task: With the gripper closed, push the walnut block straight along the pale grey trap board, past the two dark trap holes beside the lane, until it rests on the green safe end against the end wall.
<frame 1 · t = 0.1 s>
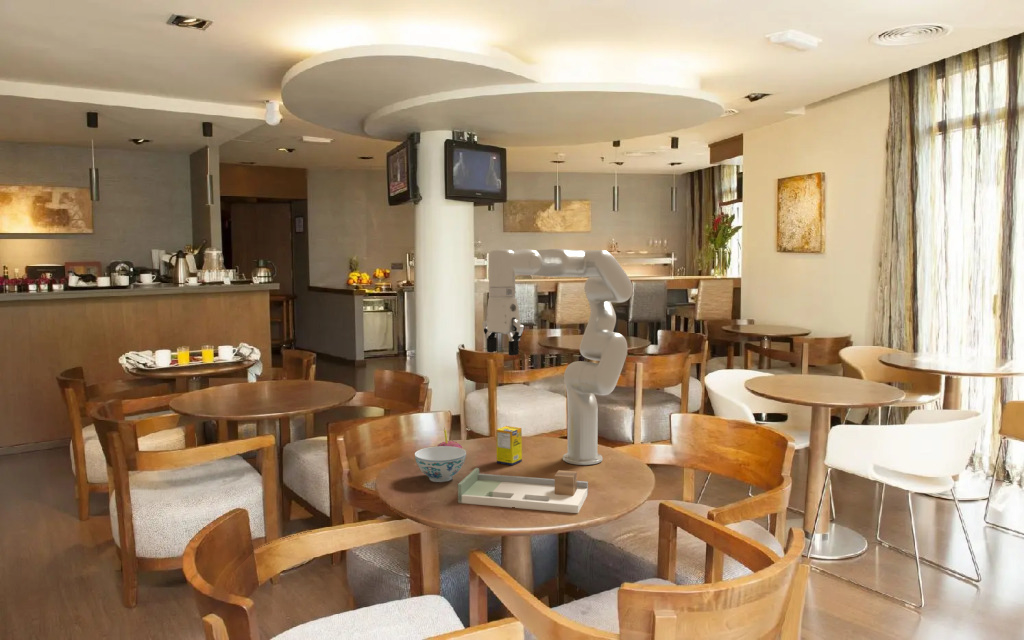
hand: (502, 353, 200), 37 cm above the table, tool pointing down, fingers open, 9 cm apart
walnut block: (565, 492, 187), point 2 cm above the table, touching trap board
trap board: (524, 498, 188), on the table
cupcake: (449, 464, 221), on the table
chinaware: (440, 479, 206), on the table
supplement box: (509, 463, 222), on the table
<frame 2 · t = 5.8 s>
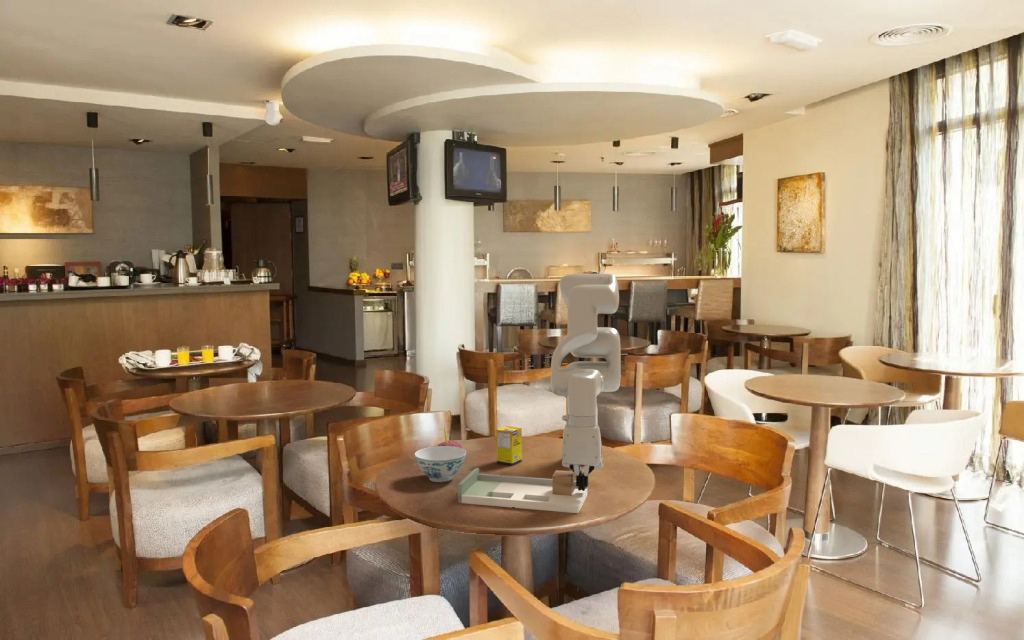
hand: (582, 489, 186), 3 cm above the table, tool pointing down, fingers closed
walnut block: (563, 492, 187), point 2 cm above the table, touching gripper
everything else where it was.
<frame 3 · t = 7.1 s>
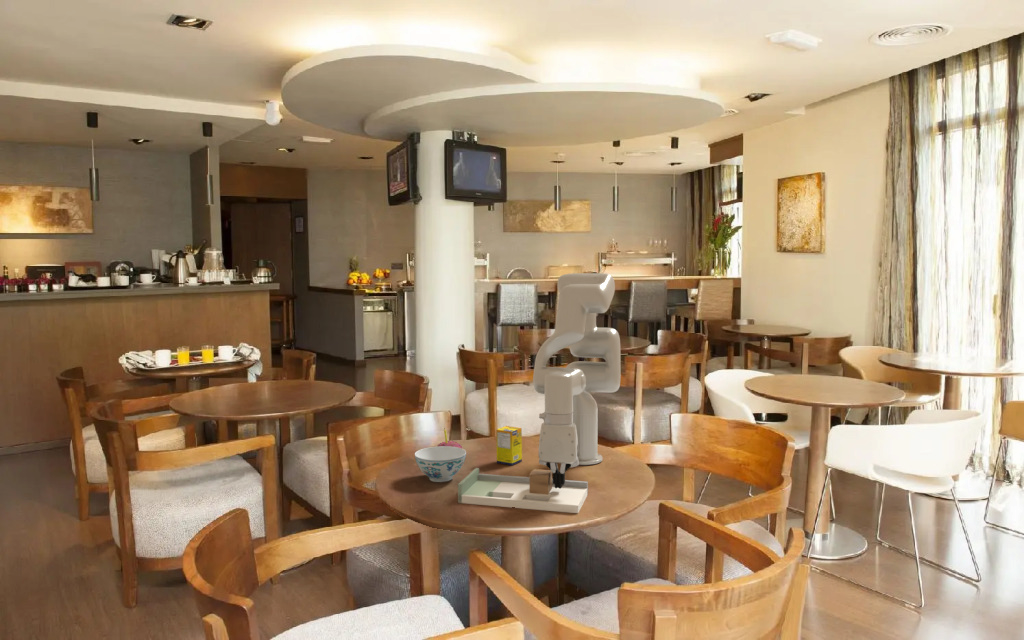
hand: (558, 486, 187), 3 cm above the table, tool pointing down, fingers closed
walnut block: (540, 490, 188), point 2 cm above the table, touching gripper, trap board
everything else where it was.
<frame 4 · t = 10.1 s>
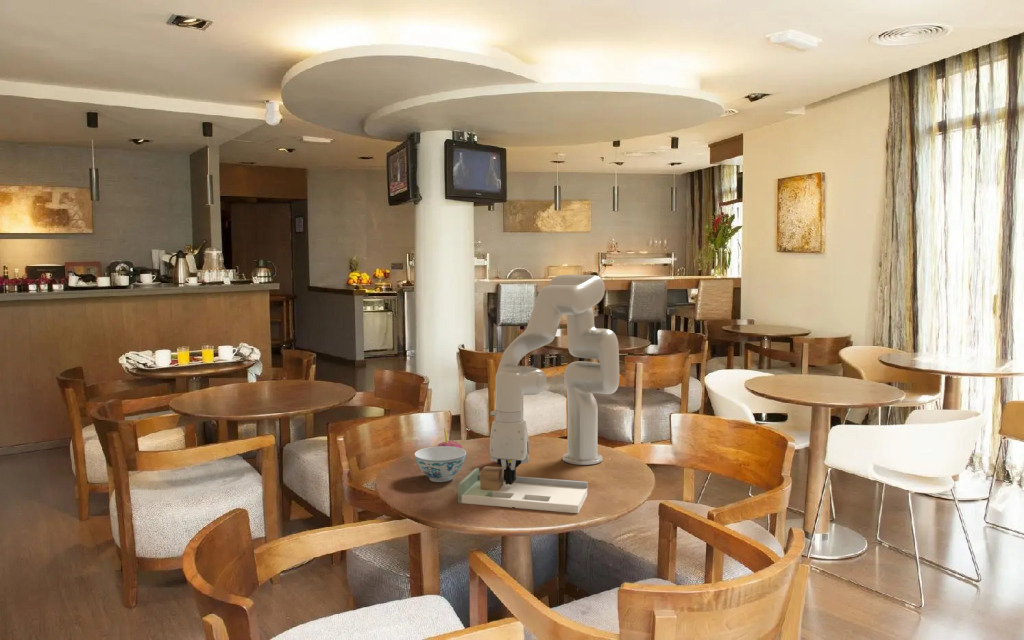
hand: (509, 482, 191), 3 cm above the table, tool pointing down, fingers closed
walnut block: (491, 487, 191), point 2 cm above the table, touching gripper
everything else where it was.
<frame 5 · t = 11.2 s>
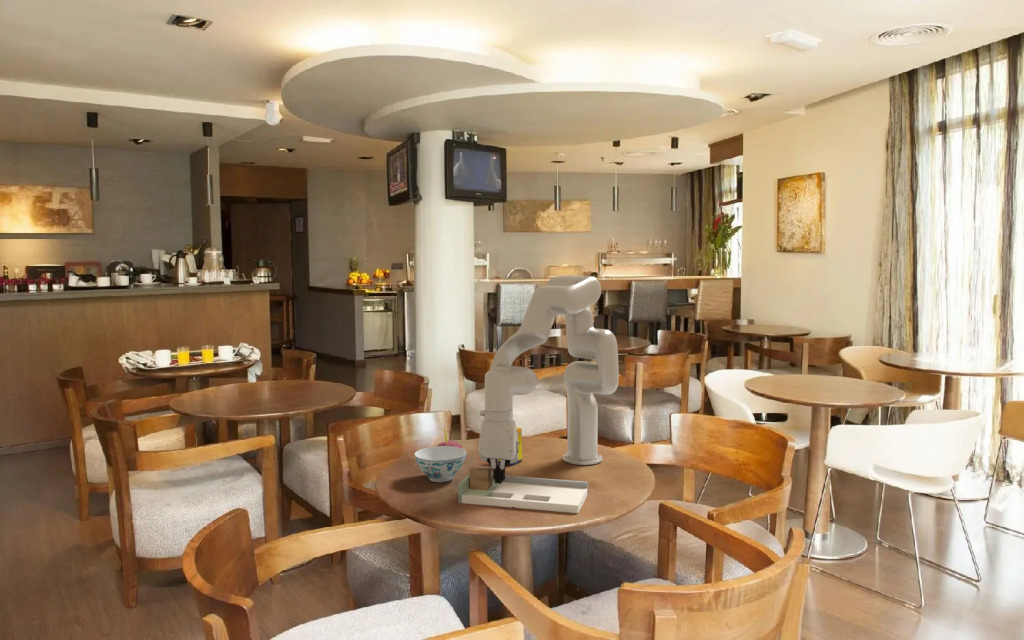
hand: (499, 482, 191), 3 cm above the table, tool pointing down, fingers closed
walnut block: (481, 486, 192), point 2 cm above the table, touching gripper, trap board
everything else where it was.
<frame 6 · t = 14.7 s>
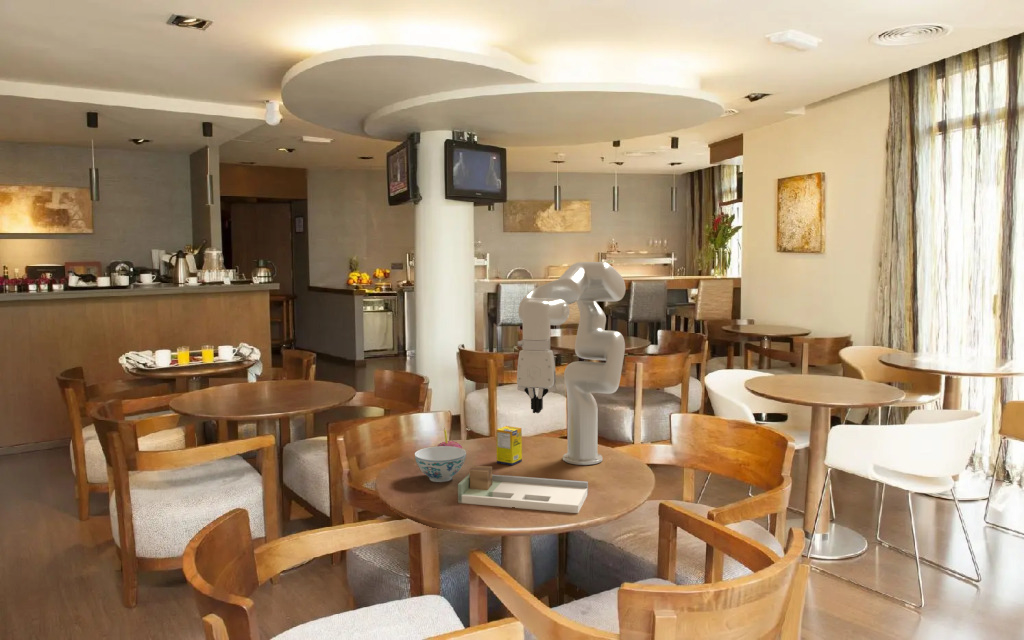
hand: (536, 412, 192), 22 cm above the table, tool pointing down, fingers closed
walnut block: (481, 486, 192), point 2 cm above the table, touching trap board
everything else where it was.
at the end: walnut block inside the target area (1.5 cm from its centre), point 2.0 cm above the table; walnut block tilted 0° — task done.
